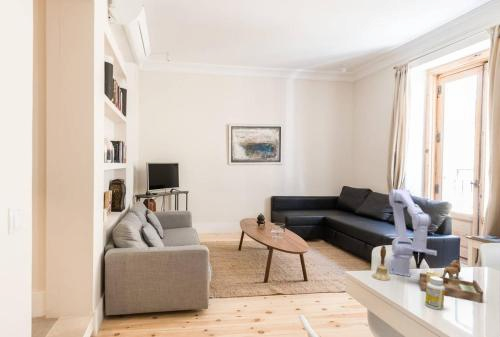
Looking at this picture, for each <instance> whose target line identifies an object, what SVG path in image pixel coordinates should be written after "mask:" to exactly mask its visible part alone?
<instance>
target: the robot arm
mask: <svg viewBox="0 0 500 337" xmlns="http://www.w3.org/2000/svg"><path fill="white" fill-rule="evenodd" d="M388 201H389V205H390V207H392V213H393V220H394V226H395V234H396V237H395V238H394V239H393V240H392V241H391V251H392V254H391V255H390V265H389V274H393V275H398V274H399V275H398V276H406V277H409V276H410V277H411V271H410V270H411V269H410V267H411V259H412V258H414V261H415V269H418V270H419V269H420V268H421V265H422V262H423V260H424V259H425V257H426V255H431V256H432V255H433V256H436V257H437V255H438V251H437V250H434V249H429V248H427V244H428V243H427V241H428V228H429V227H430V226H431V222H432V218H431V216H430V214H428V213H425V212H424V211H423V210H422V209H421V207H420V206H419V205H418V204H416V203H415V202H414V200H413V199H412V192H411V191H410V190H409V189H394V188H392V189H390V191H389V193H388ZM406 207H407V213H408V214H409V216H410V217H411V223H412V229H413V235H412V236H413V238H412V239H411V238H409V237H408V233H407V227H406V221H405V213H404V208H406Z"/></svg>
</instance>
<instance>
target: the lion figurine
mask: <svg viewBox="0 0 500 337" xmlns="http://www.w3.org/2000/svg"><path fill="white" fill-rule="evenodd" d="M461 268H462V267H461V263H460V262H459V260H456V259H454V260H452V262H450V266H446V267H445V268H444V269H443V274H442V276H441V277H445V278H446V275H447V274H448V278H451V279H454V275H455V279H457V280H460V279H459V275H460V274H459V273H461Z"/></svg>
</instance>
